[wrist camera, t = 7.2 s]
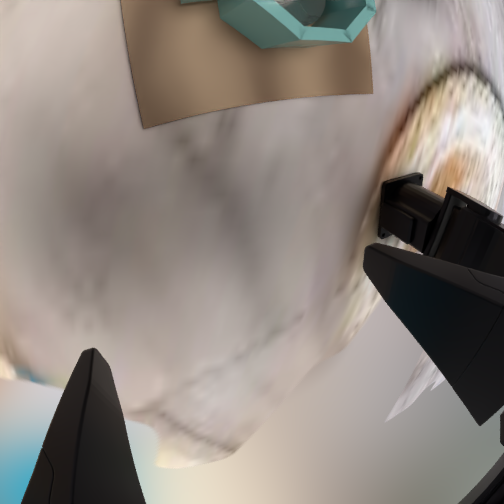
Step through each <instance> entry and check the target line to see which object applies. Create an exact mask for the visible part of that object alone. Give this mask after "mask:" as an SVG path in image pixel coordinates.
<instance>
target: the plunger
mask: <svg viewBox="0 0 504 504" xmlns="http://www.w3.org/2000/svg"><path fill="white" fill-rule="evenodd" d="M274 1H275V2H277V3H278V4H279V5H280V6H282V7H283V8H284V9H285V10H286V11H287V12H289V13H290V14H291V15H292V16H293V17H294V18H295V19H297V20H298V21H299V22H300V23H301V24H302V25H303V26H308V25H310V24H312V23H314V22H315V21H316V20H317V19H318V18H319V17H320V16H321V15H322V13H323V11H324V8H325V2H326V0H274ZM329 1H339V0H329Z"/></svg>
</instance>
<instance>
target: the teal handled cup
mask: <svg viewBox="0 0 504 504" xmlns="http://www.w3.org/2000/svg"><path fill="white" fill-rule="evenodd" d="M199 1H209V0H180V2H181V4H183V3H190V2H199ZM217 2H218V8H219V14H220V19H222V20H223V21H224V22H226V23H227V24H229V25H230V26H232V27H233V28H234V29H236V30H237V31H239V32H240V33H241V34H243V35H244V36H245V37H247V38H248V39H249V40H251V41H252V42H253V43H255V44H256V45H257V46H258V47H260V48H261V49H269V48H308V47H315V46H323V45H332V44H342V43H352V42H353V40H354V39H355V38H356V36H357V35H358V34H359V33H360V31H361V30H362V29H363V28H364V26H365V25H366V24H367V23H368V21H369V20H370V19H371V18H372V17H373V15H374V14H375V13H376V7H375V1H374V0H339V1H329V0H326V2H325V8H324V11H323V13H322V15H321V16H320V17H319V18H318V19H317V20H316V21H315V22H314V24H313V25H312V26H311V27H307V26H303V25H302V24H301V23H300V22H299V21H298V20H297V19H295V18H294V17H293V16H292V15H291V14H290V13H289V12H287V11H286V10H285V9H284V8H283V7H282V6H280V5H279V4H278V3H277V2H275V1H274V0H217Z"/></svg>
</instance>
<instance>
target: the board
mask: <svg viewBox="0 0 504 504" xmlns="http://www.w3.org/2000/svg"><path fill="white" fill-rule="evenodd" d="M121 6H122V14H123V21H124V28H125V35H126V41H127V47H128V53H129V59H130V64H131V70H132V75H133V80H134V85H135V90H136V95H137V100H138V105H139V109H140V114H141V118H142V123H143V127H144V129H146V128H149V127H152V126H156V125H159V124H163V123H167V122H170V121H174V120H178V119H182V118H186V117H190V116H194V115H199V114H203V113H208V112H212V111H217V110H222V109H227V108H232V107H238V106H243V105H249V104H256V103H262V102H269V101H276V100H284V99H293V98H302V97H313V96H326V95H343V94H373V82H372V67H371V55H370V45H369V36H368V28H367V24H366V25H365V26H364V28H363V29H362V30H361V31H360V33H359V34H358V35H357V36H356V38H355V39H354V40H353V42H352V43H342V44H332V45H323V46H315V47H308V48H269V49H261V48H260V47H258V46H257V45H256V44H255V43H253V42H252V41H251V40H249V39H248V38H247V37H245V36H244V35H243V34H241V33H240V32H239V31H237V30H236V29H234V28H233V27H232V26H230V25H229V24H227V23H226V22H224V21H223V20H222V19H220V14H219V8H218V2H217V0H209V1H199V2H190V3H183V4H181V2H180V0H121ZM313 24H314V23H312V24H310V25H308V26H307V27H311V26H312V25H313Z"/></svg>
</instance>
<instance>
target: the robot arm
mask: <svg viewBox="0 0 504 504" xmlns="http://www.w3.org/2000/svg"><path fill="white" fill-rule="evenodd" d="M422 182H423V174H421V173H415V174H411V175H407V176H404V177H400V178H396V179H393V180H389V181H386V182H384V183H383V185H382V196H381V208H380V219H379V228H378V237H379V238H380V239H384V238H386V237H389V236H391V235H394V236H395V237H397V238H398V239H400V240H401V241H403V242H404V243H406V244H410V245H411V246H412V247H414V248H415V249H417V250H418V251H420V252H421V253H423V255H421V254H417V253H414V252H410V251H406V250H403V249H399V248H395V247H391V246H388V245H384V244H380V243H373V244H370V245H368V246H367V247H366V248H365V251H364V260H363V269H364V272H365V273H366V275H367V276H368V278H369V279H370V280H371V282H372V283H373V285H374V286H375V287H376V289H377V290H378V292H379V293H380V295H381V296H382V298H383V299H384V300H385V302H386V303H387V305H388V306H389V307H390V308H391V310H392V311H393V312H394V313H395V314H396V316H397V317H398V318H399V319H400V320H401V322H402V323H403V324H404V325H405V327H406V328H407V329H408V330H409V331H410V333H411V334H412V335H413V337H414V338H415V339H416V340H417V342H418V343H419V344H420V345H421V347H422V348H423V349H424V350H425V352H426V353H427V354H428V356H429V357H430V358H431V360H432V361H433V362H434V363H435V365H436V366H437V367H438V369H439V370H440V371H441V373H442V374H443V375H444V377H445V378H446V379H447V381H448V382H449V384H450V385H451V386H452V388H453V389H454V391H455V392H456V394H457V395H458V396H459V398H460V399H461V401H462V402H463V403H464V405H465V406H466V408H467V409H468V411H469V412H470V414H471V415H472V416H473V418H474V419H475V421H476V423H477V424H478V425H479V426H481V425H482V424H483V423H485V422H486V421H487V420H488V419H489V418H490V417H491V416H493V415H494V413H496V412H497V411H498V410H499V409H500V408H501V407H502V406H503V405H504V224H502V223H501V221H502V218H503V216H502V215H501V214H499V213H498V212H496V211H495V210H493V209H492V208H490V207H489V206H487V205H486V204H484V203H482V202H481V201H479V200H477V199H475V198H473V197H471V196H469V195H467V194H465V193H463V192H460V191H458V190H455V189H453V188H450V187H447V190H446V192H447V193H446V196H445V198H443V197H441V196H440V195H438V194H436V193H434V192H432V191H430V190H428V189H426V188H424V187H422ZM466 205H467V206H466ZM500 442H501V444H502V445H503V446H504V411H503V412H502V414H501V415H500ZM42 447H43V448H42V449H41V451H40V453H39V456H38V459H37V462H36V465H35V468H34V471H33V474H32V476H31V479H30V481H29V484H28V486H27V489H26V492H25V494H24V497H23V499H22V502H21V504H146V502H145V499H144V496H143V493H142V489H141V486H140V483H139V480H138V476H137V472H136V469H135V465H134V461H133V457H132V453H131V449H130V445H129V440H128V436H127V431H126V426H125V421H124V416H123V412H122V409H121V405H120V402H119V398H118V395H117V391H116V387H115V384H114V380H113V376H112V372H111V369H110V366H109V364H108V363H107V362H106V360H105V359H104V358H103V356H102V355H101V354H100V352H99V351H98V350H97V349H96V348H90V349H87V350H84V351H83V352H82V353H81V356H80V358H79V360H78V362H77V364H76V366H75V368H74V370H73V372H72V374H71V377H70V379H69V381H68V383H67V385H66V388H65V390H64V392H63V395H62V397H61V399H60V402H59V404H58V406H57V409H56V411H55V414H54V416H53V419H52V421H51V424H50V426H49V429H48V431H47V434H46V437H45V440H44V442H43V445H42ZM458 504H504V453H503V455H502V456H501V457H500V458H499V460H498V461H497V462H496V463H495V465H494V466H493V467H492V468H491V469H490V470H489V472H488V473H487V474H486V475H485V476H484V477H483V478H482V480H481V481H480V482H479V483H478V484H477V485H476V486H475V487H474V488H473V489H472V490H471V491H470V492H469V493H468V494H467V496H465V497H464V498H463V499H462V500H461V501H460V502H459V503H458Z"/></svg>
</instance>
